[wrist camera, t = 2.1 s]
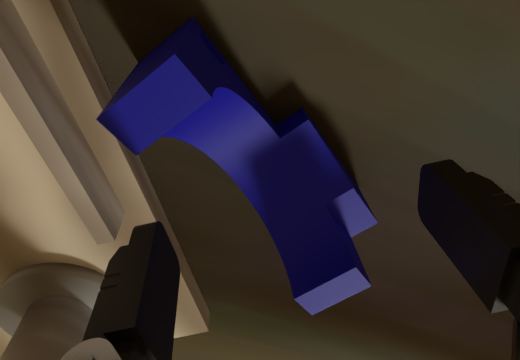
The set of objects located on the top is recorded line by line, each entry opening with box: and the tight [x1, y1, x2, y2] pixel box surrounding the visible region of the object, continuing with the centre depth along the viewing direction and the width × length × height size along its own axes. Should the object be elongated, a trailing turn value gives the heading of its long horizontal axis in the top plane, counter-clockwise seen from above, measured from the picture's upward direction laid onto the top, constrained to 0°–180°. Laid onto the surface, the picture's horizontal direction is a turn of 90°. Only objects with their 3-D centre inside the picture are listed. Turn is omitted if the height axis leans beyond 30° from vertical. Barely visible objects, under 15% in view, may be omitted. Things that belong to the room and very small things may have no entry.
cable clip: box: [96, 17, 378, 315], centre depth 15 cm, size 12×4×6 cm, turn 35°
